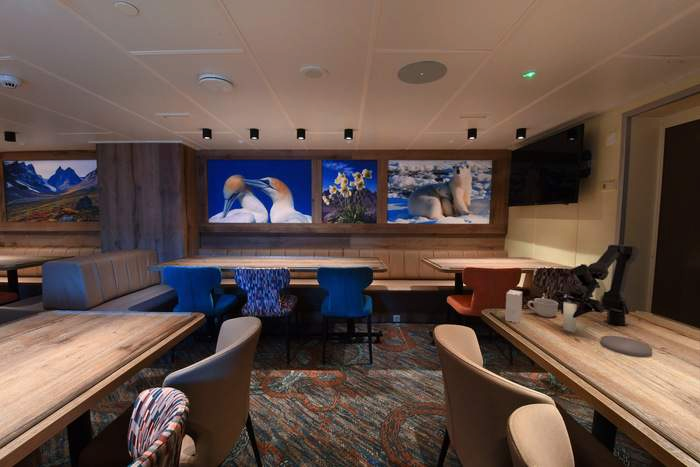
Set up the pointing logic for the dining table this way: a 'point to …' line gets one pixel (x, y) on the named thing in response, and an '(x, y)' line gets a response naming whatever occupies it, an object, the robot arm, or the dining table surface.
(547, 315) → the teacup
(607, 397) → the dining table surface
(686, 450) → the dining table surface
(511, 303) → the skincare box
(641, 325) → the dining table surface
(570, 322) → the canister
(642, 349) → the grey-brown round disc
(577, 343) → the dining table surface
